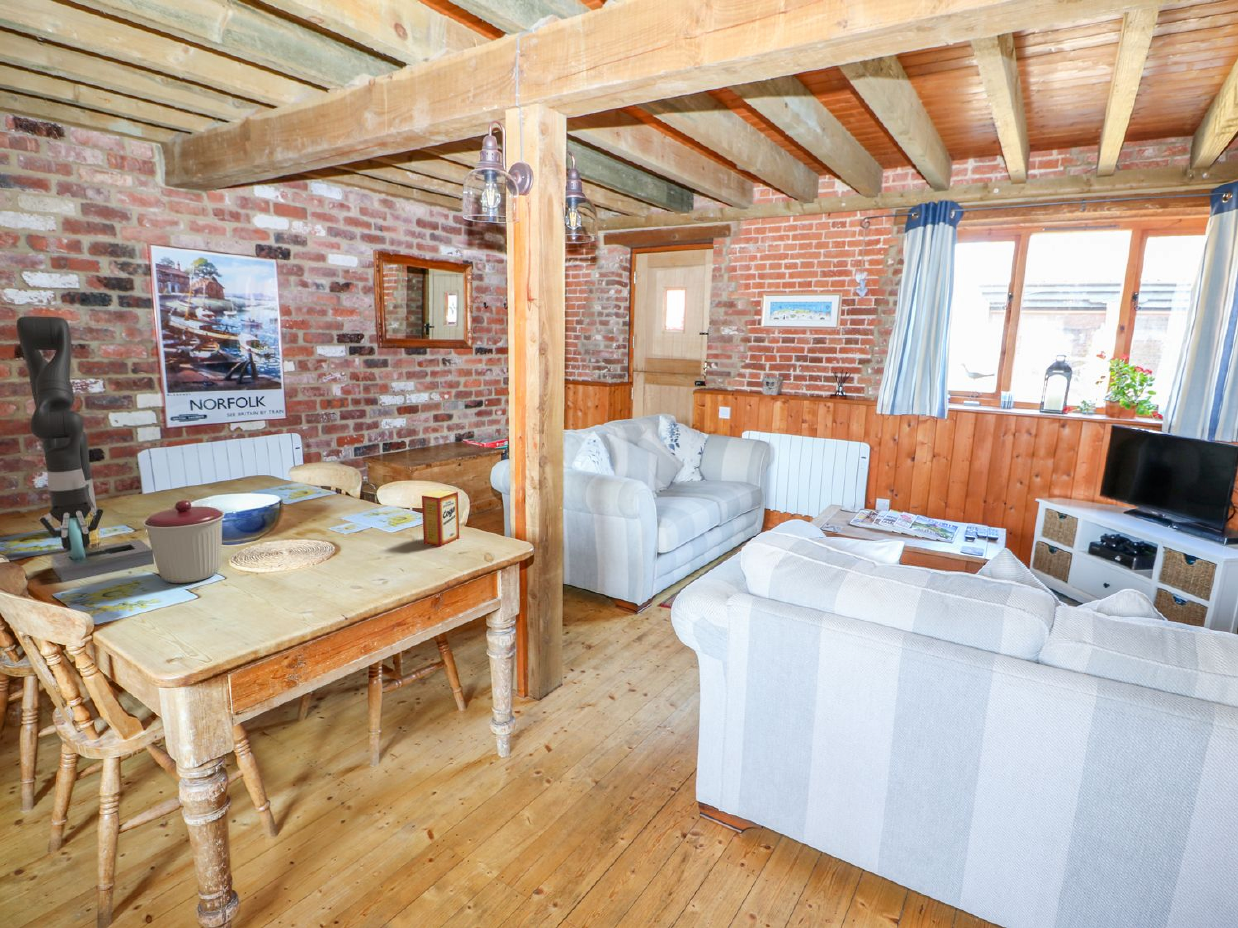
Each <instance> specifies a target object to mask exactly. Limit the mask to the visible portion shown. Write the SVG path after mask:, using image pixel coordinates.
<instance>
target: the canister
mask: <svg viewBox="0 0 1238 928" xmlns="http://www.w3.org/2000/svg"><path fill="white" fill-rule="evenodd" d="M174 507H175V508H171V509H166V510H162V511H159V512H155V513H154V514H152V515H150V516H149V517H148V518H146V519H144V520H143V521H142V523H141V524H142V527H144V528H146V533H147V536H148V539H149V543H150V548H151V549H152V551H153V558H154V562H155V565H156V567H157V568H156V569H157V571H158V573H159V576H160V577H161V579H163V581H165V582H168V583H172V584H186V583H193V582H198V581H202V580H206V579H208V578H210V577H213V576H214V575H216V574H217V573H218V572H219V570H220V568H221V563H222V562H221V561H222V547H223V546H222V544H223V540H222V539H223V518H224V517H225V515H226V514H225V512H224V511H222V510H219V509H218V508H217V507H216V508H215V507H212V506H211V507H210V506H201V505H200V506H192V503H191V501H188V500H178V501H177V502H176V503H175V505H174Z"/></svg>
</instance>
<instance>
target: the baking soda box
mask: <svg viewBox="0 0 1238 928" xmlns="http://www.w3.org/2000/svg"><path fill="white" fill-rule="evenodd" d="M421 505H422V506H421V510H422V529H423V531H422V533H423V544H424V545H428V544H430V545H429V546H435V547H440V548H441V547H444V546H446V545H449V544H450V543H452V542H454V541H457V540H459V539H460V520H459V519H460V518H459V517H460V515H459V514H460V513H459V492H458V491H453V490H447V489H439V490H436V491H430V492H428V493H425V494H423V495H421ZM456 539H457V540H456ZM445 544H446V545H445Z"/></svg>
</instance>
